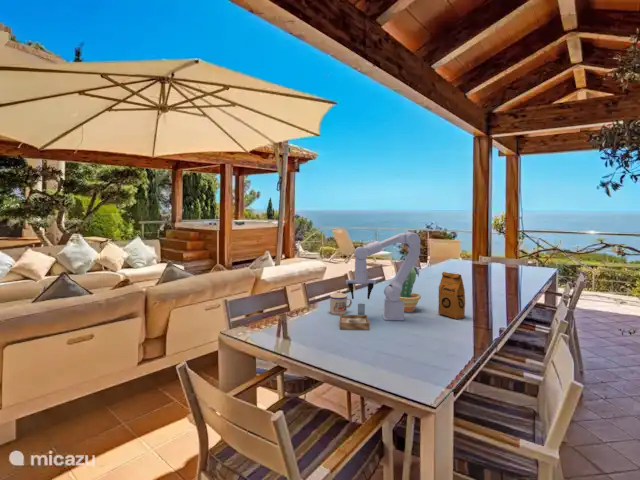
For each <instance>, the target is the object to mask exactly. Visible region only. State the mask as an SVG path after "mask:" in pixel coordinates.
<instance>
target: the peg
mask: <svg viewBox="0 0 640 480" xmlns="http://www.w3.org/2000/svg"><path fill="white" fill-rule="evenodd" d="M357 315H366V304H365V303H358V304H357Z"/></svg>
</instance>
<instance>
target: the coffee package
mask: <svg viewBox="0 0 640 480" xmlns="http://www.w3.org/2000/svg"><path fill="white" fill-rule="evenodd" d="M441 275H442V276H441V279H440V281H439V286H438V306H437V308H438V311H437V313H438V314H440V315H442V316H446V317H448V318H451V319H455V320H459V318H460V319H464V318H465V315H466V313H465V312H466V311H465V310H466V294H465V293H466V292H465V291H466V290H465V286H464V282H463V281H464V280H463V278H462V274H459V273H452V272H447V271H443V272H441Z"/></svg>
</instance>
